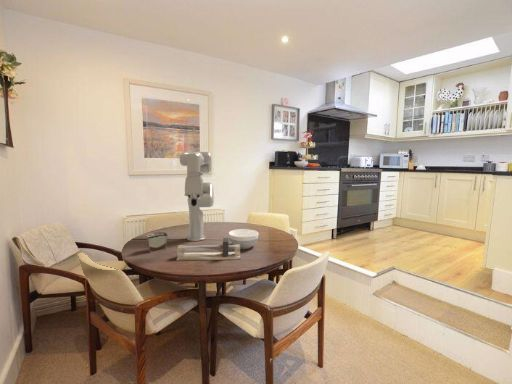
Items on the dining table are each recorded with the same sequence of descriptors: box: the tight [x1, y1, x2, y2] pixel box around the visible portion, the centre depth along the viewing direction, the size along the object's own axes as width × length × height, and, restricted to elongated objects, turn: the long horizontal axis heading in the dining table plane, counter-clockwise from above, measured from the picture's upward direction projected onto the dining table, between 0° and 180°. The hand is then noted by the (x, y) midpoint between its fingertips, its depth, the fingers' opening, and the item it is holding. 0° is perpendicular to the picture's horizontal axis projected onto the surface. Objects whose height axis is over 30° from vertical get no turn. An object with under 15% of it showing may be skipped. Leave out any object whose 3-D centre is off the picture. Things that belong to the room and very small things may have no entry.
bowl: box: [228, 228, 259, 250], centre depth 158 cm, size 19×19×9 cm
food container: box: [146, 231, 168, 254], centre depth 149 cm, size 12×6×10 cm, turn 135°
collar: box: [222, 237, 229, 256], centre depth 139 cm, size 7×3×8 cm, turn 6°
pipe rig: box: [176, 244, 241, 262], centre depth 139 cm, size 9×34×6 cm, turn 96°
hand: (194, 205), depth 147 cm, fingers closed
